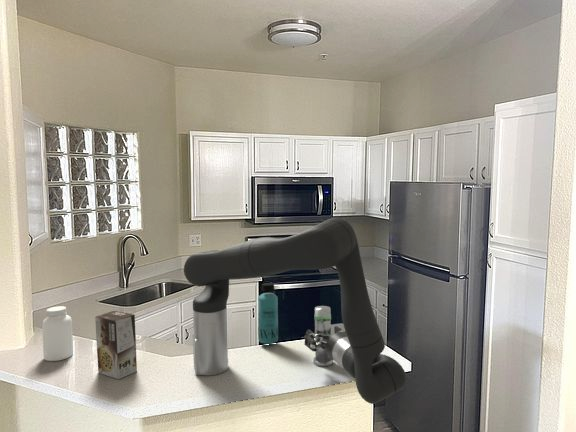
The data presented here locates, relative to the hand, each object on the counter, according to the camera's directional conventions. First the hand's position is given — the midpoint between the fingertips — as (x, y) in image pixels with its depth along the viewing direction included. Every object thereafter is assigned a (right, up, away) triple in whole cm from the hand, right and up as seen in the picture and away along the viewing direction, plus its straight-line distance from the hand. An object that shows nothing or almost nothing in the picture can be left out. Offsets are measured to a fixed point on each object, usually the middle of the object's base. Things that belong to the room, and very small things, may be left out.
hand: (321, 331), depth 120 cm
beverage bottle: (-16, -9, +14) cm, 23 cm away
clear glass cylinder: (0, -9, 0) cm, 9 cm away
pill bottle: (-80, -10, +7) cm, 81 cm away
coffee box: (-57, -10, -4) cm, 58 cm away
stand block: (+5, -8, +11) cm, 15 cm away
